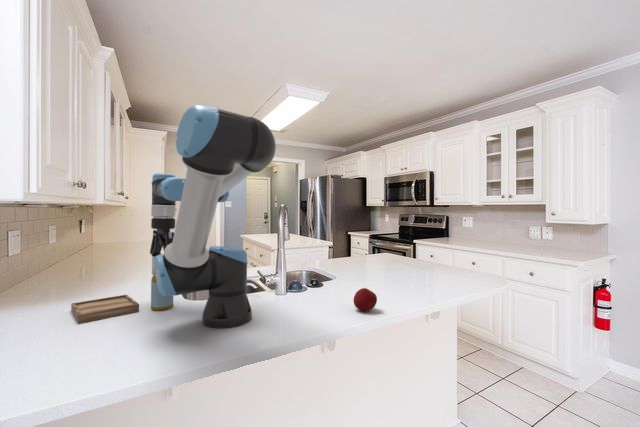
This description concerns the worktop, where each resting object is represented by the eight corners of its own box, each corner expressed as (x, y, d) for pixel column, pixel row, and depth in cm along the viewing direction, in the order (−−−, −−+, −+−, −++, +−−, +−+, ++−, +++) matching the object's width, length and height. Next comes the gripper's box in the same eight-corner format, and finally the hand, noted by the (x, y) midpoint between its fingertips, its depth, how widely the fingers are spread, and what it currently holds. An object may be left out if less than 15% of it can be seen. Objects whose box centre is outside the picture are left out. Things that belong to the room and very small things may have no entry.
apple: (368, 316, 99) (369, 292, 99) (349, 310, 104) (349, 288, 104) (380, 311, 104) (380, 288, 104) (361, 306, 110) (361, 284, 110)
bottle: (177, 305, 107) (177, 264, 107) (165, 311, 100) (165, 267, 100) (159, 304, 108) (159, 263, 108) (146, 310, 101) (146, 267, 101)
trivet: (138, 311, 100) (139, 304, 100) (78, 324, 88) (78, 315, 88) (126, 301, 111) (126, 294, 111) (71, 311, 99) (71, 303, 99)
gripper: (188, 218, 98) (187, 282, 98) (162, 216, 115) (161, 270, 116) (164, 219, 93) (163, 285, 93) (141, 216, 110) (140, 272, 110)
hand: (162, 277), depth 104 cm, fingers open, 13 cm apart
